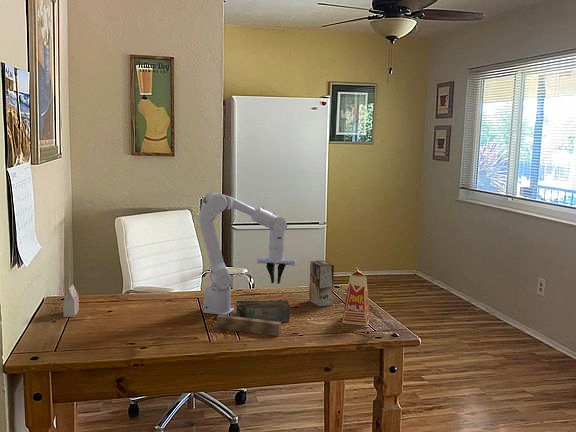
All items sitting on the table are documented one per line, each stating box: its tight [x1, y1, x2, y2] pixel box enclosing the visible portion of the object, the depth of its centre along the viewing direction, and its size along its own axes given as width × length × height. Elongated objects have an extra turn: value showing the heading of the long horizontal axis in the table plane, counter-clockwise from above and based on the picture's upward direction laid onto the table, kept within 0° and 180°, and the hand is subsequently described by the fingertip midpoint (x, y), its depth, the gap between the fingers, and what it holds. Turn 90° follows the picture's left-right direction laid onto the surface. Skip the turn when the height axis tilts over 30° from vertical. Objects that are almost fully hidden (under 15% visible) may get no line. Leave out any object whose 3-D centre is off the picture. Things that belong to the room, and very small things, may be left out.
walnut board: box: [216, 314, 282, 337], centre depth 195 cm, size 22×2×4 cm, turn 73°
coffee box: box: [308, 260, 335, 307], centre depth 230 cm, size 9×6×16 cm
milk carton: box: [341, 267, 370, 327], centre depth 208 cm, size 9×9×20 cm
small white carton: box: [62, 284, 80, 318], centre depth 208 cm, size 4×7×10 cm, turn 8°
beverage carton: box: [235, 299, 291, 323], centre depth 208 cm, size 8×19×7 cm, turn 95°
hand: (275, 282), depth 222 cm, fingers closed
